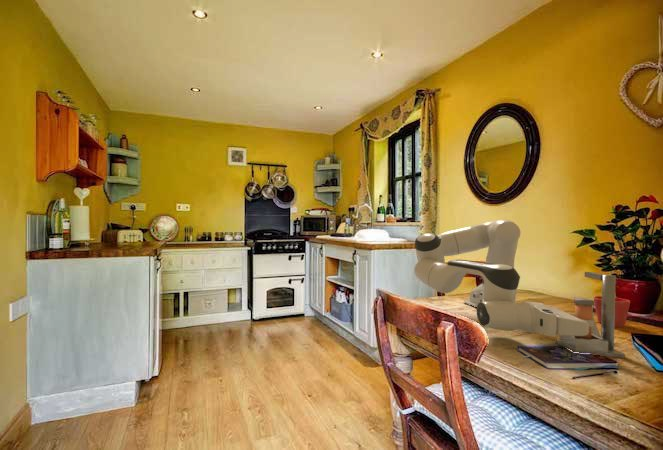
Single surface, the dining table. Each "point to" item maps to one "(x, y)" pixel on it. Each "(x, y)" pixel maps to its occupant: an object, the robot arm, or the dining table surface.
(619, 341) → the dining table surface
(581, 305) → the orange capped jar
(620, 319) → the flower pot
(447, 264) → the robot arm
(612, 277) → the grey post stand
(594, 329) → the flask
